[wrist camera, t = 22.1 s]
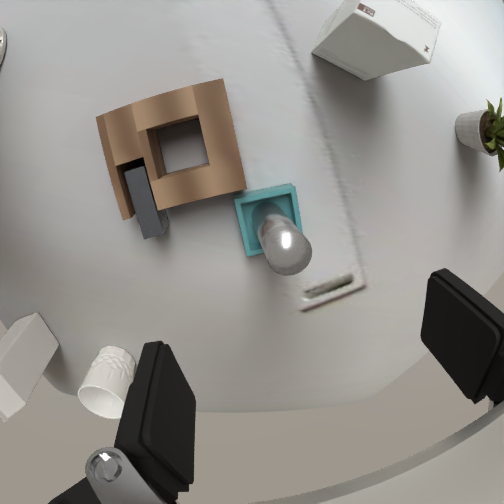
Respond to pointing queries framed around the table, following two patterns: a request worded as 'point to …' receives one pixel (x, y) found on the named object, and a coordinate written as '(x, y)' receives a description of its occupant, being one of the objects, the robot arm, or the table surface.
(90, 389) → the white cup
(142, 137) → the socket block
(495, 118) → the house plant
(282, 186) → the tray
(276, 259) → the peg
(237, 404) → the table surface
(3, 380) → the milk carton
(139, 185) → the bar
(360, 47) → the skincare box
